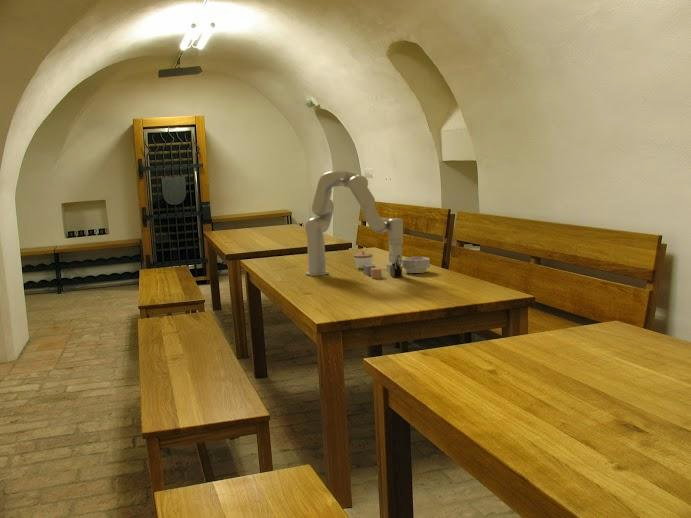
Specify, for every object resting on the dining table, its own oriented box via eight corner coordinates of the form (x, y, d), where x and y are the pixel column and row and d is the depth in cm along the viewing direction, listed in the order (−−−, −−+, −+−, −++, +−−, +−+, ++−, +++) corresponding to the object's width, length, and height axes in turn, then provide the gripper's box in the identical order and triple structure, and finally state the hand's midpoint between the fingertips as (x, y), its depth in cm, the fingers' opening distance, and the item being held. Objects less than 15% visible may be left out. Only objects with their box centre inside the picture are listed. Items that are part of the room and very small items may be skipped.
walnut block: (390, 275, 380) (390, 266, 380) (399, 275, 381) (399, 265, 381) (393, 277, 376) (393, 267, 375) (402, 276, 377) (402, 267, 376)
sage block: (386, 272, 392) (386, 263, 391) (395, 271, 393) (394, 262, 393) (389, 274, 387) (389, 264, 386) (398, 273, 389) (398, 264, 388)
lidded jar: (376, 267, 411) (375, 251, 410) (366, 269, 402) (366, 253, 401) (360, 265, 417) (360, 250, 415) (350, 268, 408) (350, 252, 406)
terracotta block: (371, 277, 380) (370, 267, 379) (380, 276, 380) (380, 267, 379) (372, 278, 375) (371, 269, 374) (381, 278, 375) (381, 269, 374)
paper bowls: (422, 269, 398) (422, 255, 397) (434, 273, 384) (434, 259, 382) (397, 271, 393) (397, 257, 392) (408, 276, 379) (408, 261, 378)
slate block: (363, 274, 389) (363, 265, 388) (371, 273, 391) (371, 264, 390) (367, 275, 384) (366, 266, 384) (375, 274, 386) (375, 265, 386)
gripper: (384, 240, 383) (385, 273, 386) (393, 244, 367) (394, 278, 369) (398, 239, 385) (398, 272, 387) (407, 243, 368) (407, 277, 371)
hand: (396, 275), depth 378 cm, fingers closed on walnut block, 5 cm apart
